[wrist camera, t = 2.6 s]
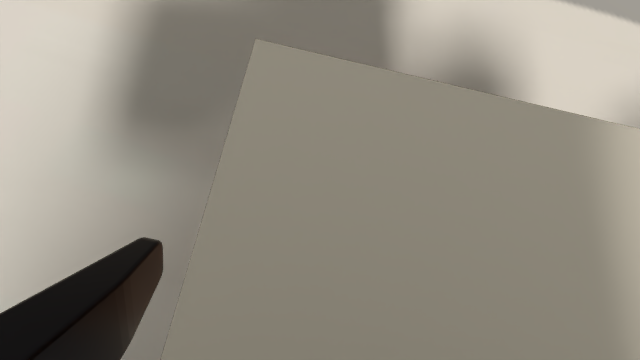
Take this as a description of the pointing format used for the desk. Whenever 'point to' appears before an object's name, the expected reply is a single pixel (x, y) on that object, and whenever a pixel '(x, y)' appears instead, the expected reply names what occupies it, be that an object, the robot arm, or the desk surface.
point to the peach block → (410, 224)
